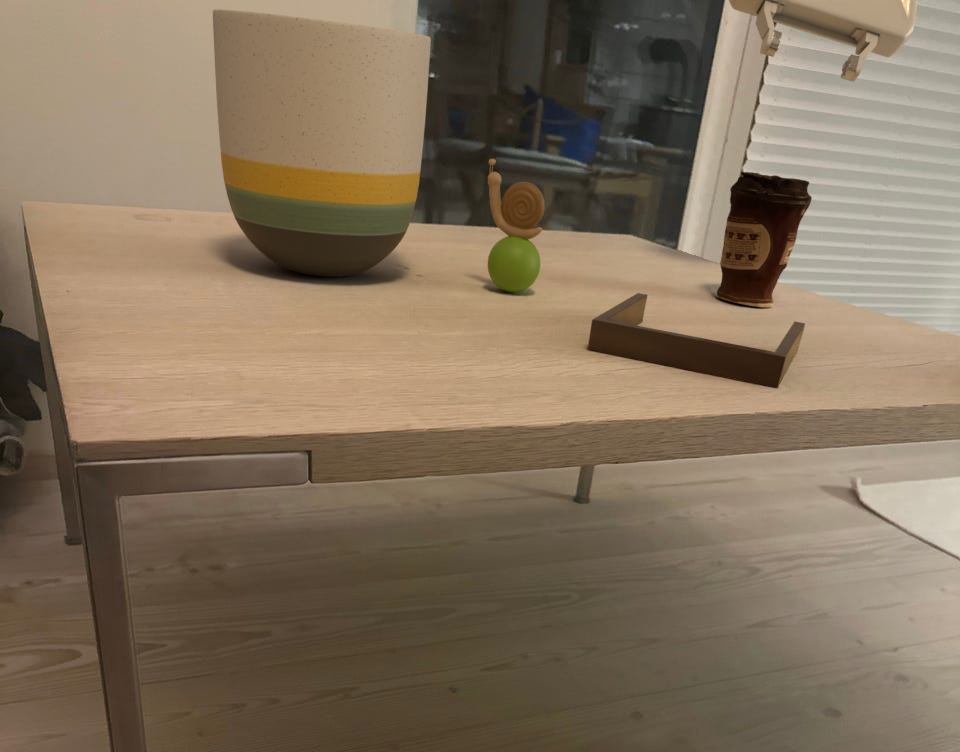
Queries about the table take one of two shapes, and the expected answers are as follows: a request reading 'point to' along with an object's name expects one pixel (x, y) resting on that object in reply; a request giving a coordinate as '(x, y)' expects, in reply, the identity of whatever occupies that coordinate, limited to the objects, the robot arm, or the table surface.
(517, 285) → the snail figurine
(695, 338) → the corral
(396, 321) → the table surface
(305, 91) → the planter
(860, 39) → the robot arm
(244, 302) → the table surface
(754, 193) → the coffee cup
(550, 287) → the table surface
